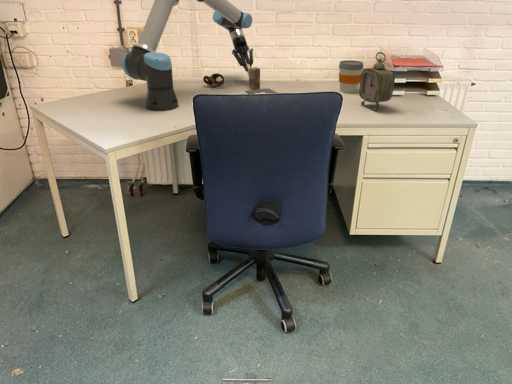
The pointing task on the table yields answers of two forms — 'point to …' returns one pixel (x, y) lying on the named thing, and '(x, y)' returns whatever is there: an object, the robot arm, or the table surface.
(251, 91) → the rubber mat
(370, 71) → the tabletop clock
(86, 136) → the table surface
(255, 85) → the walnut block
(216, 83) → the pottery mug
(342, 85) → the reusable coffee cup
